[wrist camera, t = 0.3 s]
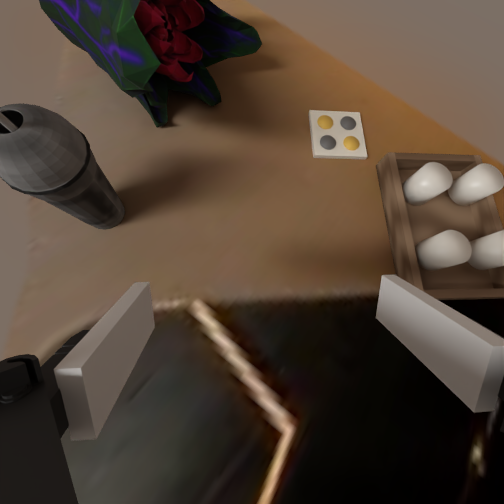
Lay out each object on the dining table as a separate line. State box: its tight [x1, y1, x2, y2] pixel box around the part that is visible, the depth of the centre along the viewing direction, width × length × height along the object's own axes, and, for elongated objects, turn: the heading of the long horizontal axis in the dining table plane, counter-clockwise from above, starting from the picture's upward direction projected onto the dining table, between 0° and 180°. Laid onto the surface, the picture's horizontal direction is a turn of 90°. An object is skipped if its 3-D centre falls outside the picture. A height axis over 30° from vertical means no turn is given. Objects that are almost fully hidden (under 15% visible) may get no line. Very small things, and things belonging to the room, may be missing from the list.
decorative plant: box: [39, 0, 262, 127], centre depth 30 cm, size 21×26×30 cm
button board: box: [376, 153, 504, 300], centre depth 35 cm, size 20×14×3 cm
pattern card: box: [308, 110, 367, 159], centre depth 39 cm, size 8×8×1 cm
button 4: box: [402, 162, 453, 206], centre depth 34 cm, size 4×4×4 cm
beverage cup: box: [0, 104, 125, 229], centre depth 23 cm, size 7×7×20 cm
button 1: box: [467, 230, 504, 270], centre depth 32 cm, size 4×4×4 cm
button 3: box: [415, 230, 472, 271], centre depth 31 cm, size 4×4×4 cm
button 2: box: [448, 164, 504, 206], centre depth 34 cm, size 4×4×4 cm
